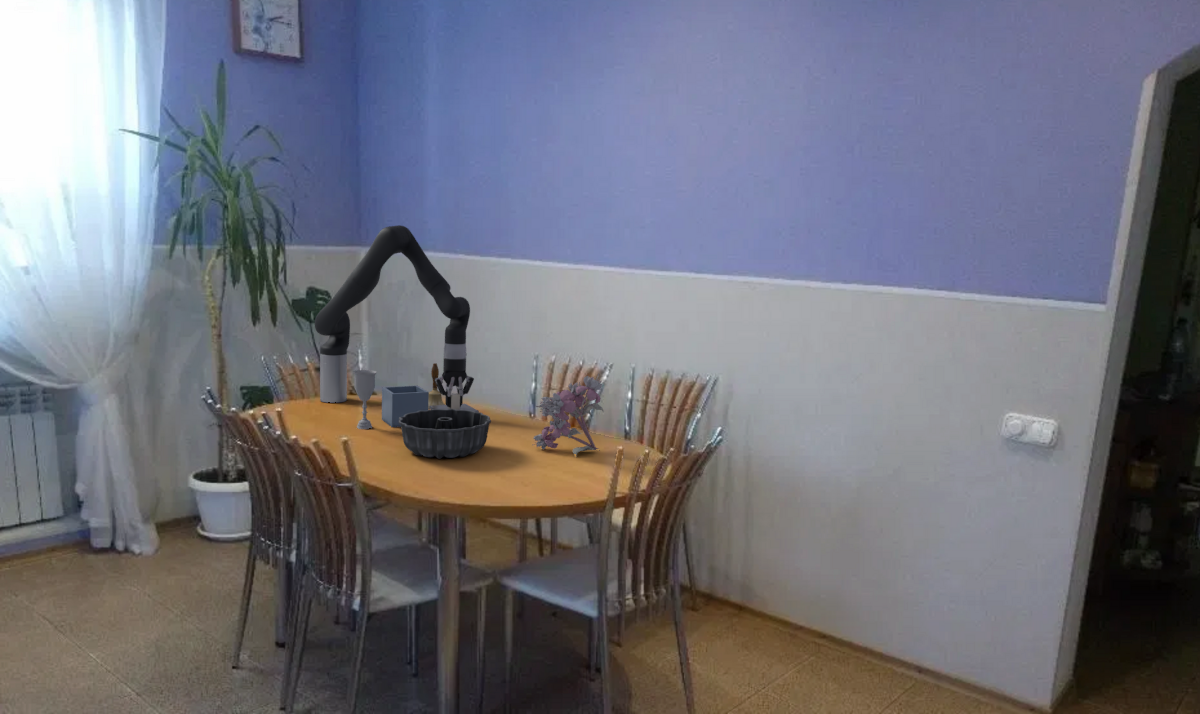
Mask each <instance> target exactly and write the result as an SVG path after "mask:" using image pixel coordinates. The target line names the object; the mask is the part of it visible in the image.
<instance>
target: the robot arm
mask: <svg viewBox="0 0 1200 714" xmlns="http://www.w3.org/2000/svg"><path fill="white" fill-rule="evenodd" d="M425 253H426V252H425V251H424V250H423V249H422V247H421V245H420V243H419V242H418V241H417V239H416V238H415V236H414V235H413V233H412V232H411V230H410V229H409V228H408V227H406V226H404V225H391V226H386V227H384V228H382V229H381V230H380V231H379V232H378V234H377V235H376V236H375V238H374V239H373V242H372V244H371V246H369V249H368V251H367V252H366V253H365V254H364V256H363V257H362V258H361V260H360V261H359V263H358V264H357V265H356V267H355V268H354V269H353V270H352V271H351V273H350V275H349V276H348V277H347V278H346V280H345V282H344V283H343V284H342V285H341V287H340V288H339V289H338V290H337V292H336V293H335V294H334V296H333V297H332V298H331V299H330V300H329V301H328V302H327V303H326V305H325V306H324V307H323V308H321V309H320V311H319V312H318V313H317V314H316V317H315V319H314V328H315V331H316V332H317V334H319V335H320V336H327V337H328V336H329V337H328V339H327V341H325V342H324V343H323V344H321V346H320V347H319V363H320V364H319V365H320V367H319V370H320V371H319V378H320V379H319V380H320V381H319V383H320V385H319V387H320V388H319V390H320V391H319V392H320V393H319V401H320V402H323V403H328V402H330V403H332V404H334V403H335V402H336V403H337V404H338V403H344V402H346V401H347V400H348V398H347V397H348V395H347V394H348V389H347V388H348V348H349V346H350V334H351V321H350V320H351V319H350V316H349V314H348V313H347V312H348V311H349V310H351V309H352V308H354V307H356V306H357V305H358V304H360V303H361V302H363V301H364V300H366V299H367V298H368V297H369V295H370V294H371V293H372V292H373V291H374V290H375V288H376V287H377V285H378V283H379V281H380V277H381V272H382V271H381V270H382V269H383V266H384V265H385V264H386V263H387V262H388V260H389V259H390V258H391V257H392V256H394V255H395V254H402V255H404V256H405V257H406V258H407V259H408V261H409V262H410V263H411V264H412V266H413V268H414V270H415V273H416V276H417V278H418V281H419V282H420V284H421V285H422V287H423V288H424V289H425V290H426V291H427V292H428V294H429V295H430V296H431V297H432V298H433V300H434V302H435V304H436V306H437V307H438V310H440V312H441V314H442V315H444V316H445V318H448V319H450V320H449V324H448V325H447V326H446V327H445V330H444V347H443V366H442V367H443V368H442V369H443V370H442V371H443V372H442V374H441V376H440V377H439V376H438V378H435V382H436V385H437V390H438V391H439V392H440V394H441V396H445V402H444V404H445V405H447V407H451V397H450V396H451V393H452V391H453V389H454V387H455V388H456V393H458V394H460V407H461V405H462V404H464V403H463V397H464V395H468V394H469V392H470V390H471V387H472V385H473V383H474V380H475V378H474V377H472V376H469V375H468V374H467V354H468V353H467V344H466V343H467V328H468V324H469V321H470V315H471V306H470V303H469V301H468V299H467V298H465V297H464V296H456V297H455V295H453V294H452V291H451V289H452V288H451V285H450V284H449V282H448V281H447V280H446V279H445V277H443V276H442V274H441V273H440V272H439V270H437V268H435V266H434V265H433V263H432V261H430V259H429V258H428V256H427V255H426V254H425ZM443 381H444V382H443ZM464 382H465V384H464V385H463V383H464ZM443 383H445V388H444V385H443Z"/></svg>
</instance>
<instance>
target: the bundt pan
mask: <svg viewBox="0 0 1200 714" xmlns="http://www.w3.org/2000/svg"><path fill="white" fill-rule="evenodd" d="M490 417H491V416H489V415H487V414H484V413H483V412H480V411H479V412H474V411H470V410H456V409H432V410H431V409H428V410H427V411H418V412H413V413H408V414H405V415H404V416H403V417H399V424H400V425H401V427H400V428H401V434H402V440H403V444H404V446H405V447H406V448H407V450H409V451H410V452H412V453H413V455H416V456H418V457H422V455H423V457H425V458H434V457H436V458H437V459H438V460H441V459H443V458H444V457H445V458H447V459H453V458H456V457H460V458H465V457H467V456H468V455H472V454H473V455H474V454H475V453H477V452H478V451H480V450H482V449H483V448H484V447H485V445H486V443H487V439H488V434H489V428H490V424H491V422H492V420H491V418H490Z"/></svg>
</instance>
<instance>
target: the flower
mask: <svg viewBox="0 0 1200 714" xmlns="http://www.w3.org/2000/svg"><path fill="white" fill-rule="evenodd" d="M599 376H600V373H597V376H596V379H595V378H594V377H593V376H591V377H590V376H589V375H587V376H585V377H583V383H584V385H581V381H578V382H575V383H574V384H572V382H570V383H569V384H568V389H564V390H561V391H557V392H556V393H555V392H553V393H552V397H549V396H543V397H541V398H540V399H541V400H540V402H539V404H540V405H535V407H536V408H540V411H539V413H540V414H541V416H542V417H548V416H551V417H552V421H551V420H550V421H549V426H544V427H543V429H542V430H541V433H539V434H537V435H534V436H533V439H532V440H533V442H534V444H532V445H531V446H535V445H536V448H540V449H541V448H542V449H543V450H545V449H546V448H547V447H548V448H550V449H554V450H555V449H556V448H558V445H559V443H558V442H557V443H556V442H555V441H556V440H557V439H559V438H561V437H565V438H568V439H572V440H574V441H576V442H578V443H581V444H583V445H584V446H581V447H580V446H578V447H574V448H572V453H573V455H574V454H576V455H577V456H578V453H581V452H580V451H582V452H586V451H595V450H596V449H599V448H598V447H597V446H596V445H595V443H594V441H593V439H592V436H591V434H590V433H589V430H588V428H587V425H586V422H585V419H584V416H585V415H587V414H589V416H593V415H592V413H591V411H592V410H596V411H602V413H604V412H605V411H604V409H603V407H602V406H601V405H600V404H598V403H600V402H601V400H602V399H601V396H600V395H599V393H598V392H597V391H600V390H601V389H602V387H603V383H602V380H600V379H598V378H599ZM584 395H585V397H584ZM586 399H587V400H588V401H590V402H591V401H595V403H589V404H586V403H587V401H586ZM585 404H586V405H585ZM567 413H568V414H569V415H570V416H571V417H574V418H575V419H576V421H577V423H578V424H579V427H580V428H581V430H582V432H583V433H584V435H585V437H586V439H587V440H588V442H587V441H586V440H583V439H582V438H578V437H576V436H575V435H578V434H580V435H582V433H581V432H580V431H579V430H578V429H577V428H576V427H572V428H571V422H569V421H568V420H570V416H568V415H567ZM596 451H597V450H596Z"/></svg>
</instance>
